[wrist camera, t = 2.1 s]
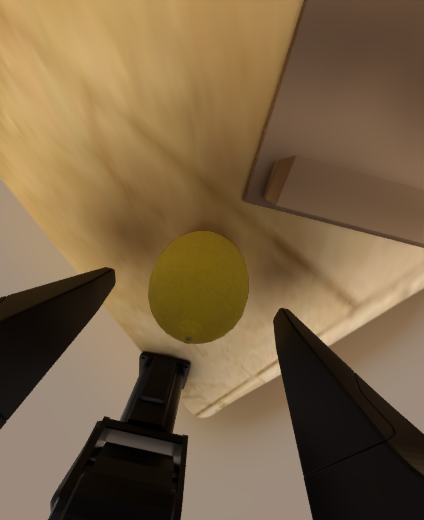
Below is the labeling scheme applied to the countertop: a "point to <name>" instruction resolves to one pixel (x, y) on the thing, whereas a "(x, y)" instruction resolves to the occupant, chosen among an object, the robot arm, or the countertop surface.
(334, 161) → the cradle
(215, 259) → the lemon
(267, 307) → the countertop surface
